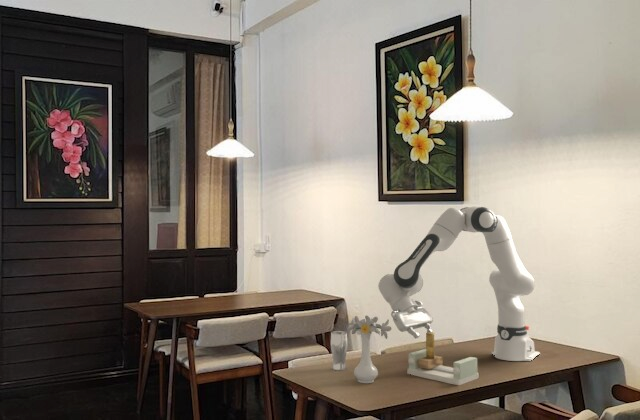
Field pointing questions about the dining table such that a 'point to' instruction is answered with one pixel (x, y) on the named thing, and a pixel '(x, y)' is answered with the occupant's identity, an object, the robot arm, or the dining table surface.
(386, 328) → the flower vase
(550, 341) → the dining table surface
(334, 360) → the beer glass
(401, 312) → the robot arm
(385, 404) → the dining table surface
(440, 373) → the track
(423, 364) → the carriage
